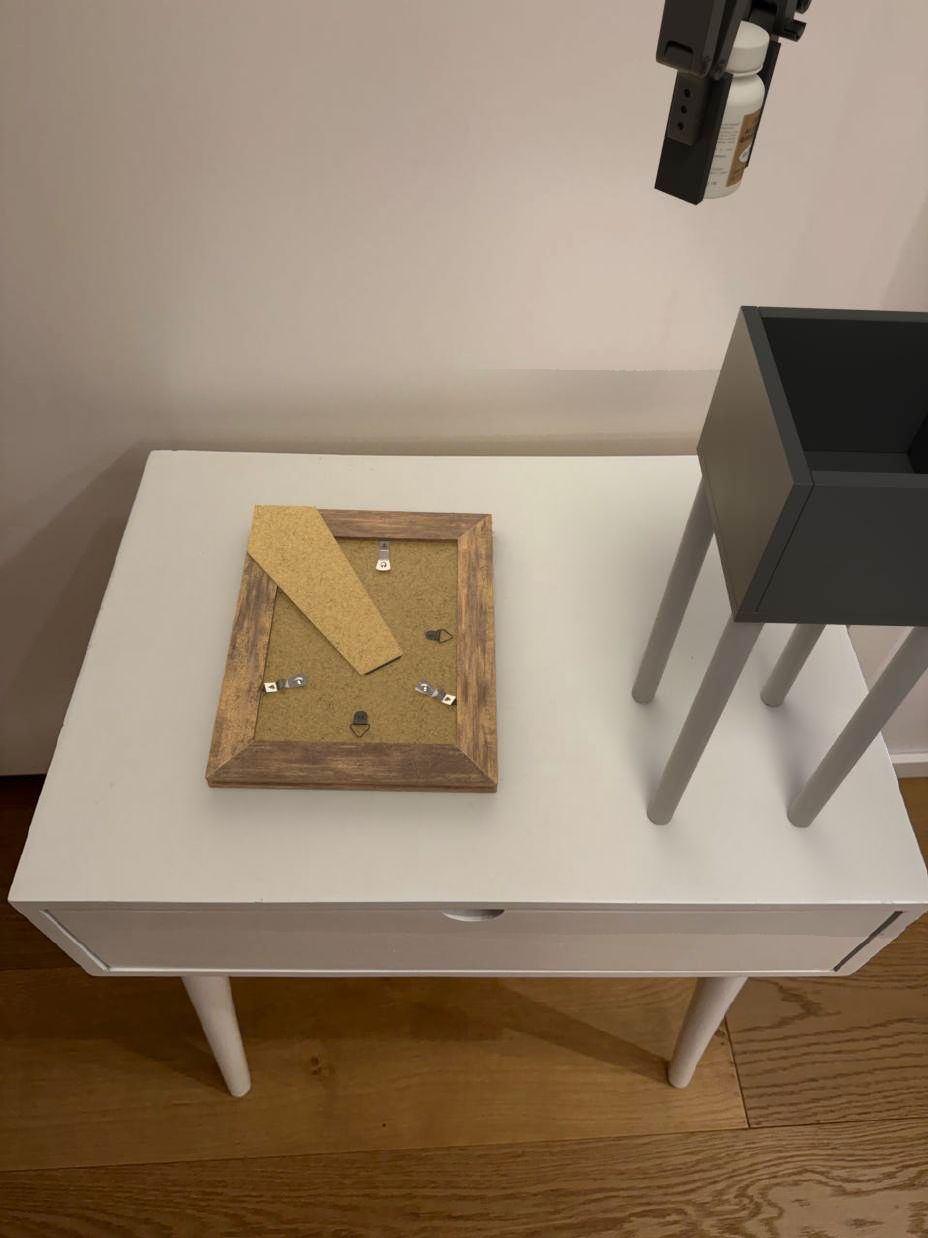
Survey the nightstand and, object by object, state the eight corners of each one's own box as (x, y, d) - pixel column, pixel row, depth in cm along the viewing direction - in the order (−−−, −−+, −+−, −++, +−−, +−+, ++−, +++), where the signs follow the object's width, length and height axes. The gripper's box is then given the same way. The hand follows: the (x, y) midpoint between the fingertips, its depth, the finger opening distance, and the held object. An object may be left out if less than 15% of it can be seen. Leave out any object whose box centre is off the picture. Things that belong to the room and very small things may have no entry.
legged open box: (785, 683, 68) (989, 313, 44) (822, 834, 61) (1090, 492, 37) (624, 680, 68) (740, 304, 44) (642, 831, 61) (794, 484, 37)
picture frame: (257, 520, 76) (208, 789, 62) (254, 504, 75) (203, 775, 60) (490, 527, 77) (496, 794, 62) (492, 511, 75) (498, 781, 61)
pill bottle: (746, 202, 53) (788, 51, 47) (667, 200, 53) (700, 48, 47) (732, 164, 56) (770, 16, 49) (657, 161, 55) (686, 12, 49)
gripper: (853, -457, 41) (720, 104, 60) (635, -436, 33) (558, 213, 51) (1025, -438, 39) (830, 144, 57) (837, -410, 30) (679, 266, 48)
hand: (702, 176), depth 54 cm, fingers closed on pill bottle, 4 cm apart
